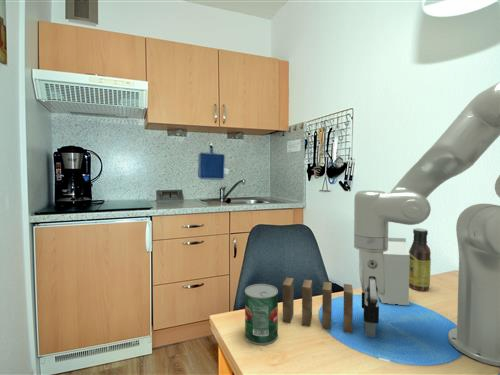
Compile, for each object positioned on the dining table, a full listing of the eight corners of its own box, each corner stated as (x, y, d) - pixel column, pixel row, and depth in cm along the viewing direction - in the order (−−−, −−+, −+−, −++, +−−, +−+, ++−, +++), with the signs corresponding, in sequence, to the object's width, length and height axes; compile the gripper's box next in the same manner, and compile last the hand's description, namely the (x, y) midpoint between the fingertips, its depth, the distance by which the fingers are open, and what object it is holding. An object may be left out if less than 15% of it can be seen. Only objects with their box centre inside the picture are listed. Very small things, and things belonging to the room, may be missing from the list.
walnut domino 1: (293, 314, 76) (293, 278, 76) (290, 323, 71) (290, 285, 71) (286, 312, 77) (286, 277, 76) (282, 322, 72) (282, 284, 72)
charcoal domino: (372, 326, 70) (373, 287, 69) (375, 337, 65) (375, 295, 65) (364, 324, 70) (364, 286, 70) (365, 335, 66) (366, 294, 65)
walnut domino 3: (331, 319, 73) (331, 282, 73) (330, 330, 68) (330, 290, 68) (323, 318, 74) (323, 281, 73) (322, 328, 69) (322, 289, 68)
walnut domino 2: (312, 316, 75) (312, 280, 74) (310, 326, 70) (310, 287, 69) (304, 315, 75) (304, 279, 75) (302, 325, 70) (302, 286, 70)
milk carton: (408, 306, 80) (410, 241, 79) (382, 304, 82) (383, 240, 81) (400, 295, 87) (401, 235, 86) (376, 293, 88) (377, 234, 88)
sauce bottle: (408, 282, 97) (409, 226, 96) (429, 286, 94) (431, 228, 93) (407, 289, 91) (409, 229, 90) (430, 293, 88) (431, 231, 87)
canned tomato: (240, 329, 69) (240, 286, 68) (269, 323, 71) (269, 281, 71) (252, 348, 61) (251, 300, 61) (283, 340, 64) (283, 294, 63)
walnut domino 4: (351, 322, 71) (352, 284, 71) (352, 333, 67) (352, 292, 66) (343, 321, 72) (343, 283, 72) (343, 332, 67) (343, 291, 67)
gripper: (394, 253, 57) (392, 337, 58) (382, 235, 74) (381, 301, 75) (355, 250, 60) (354, 331, 61) (352, 233, 76) (352, 298, 77)
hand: (369, 314), depth 68 cm, fingers open, 6 cm apart
